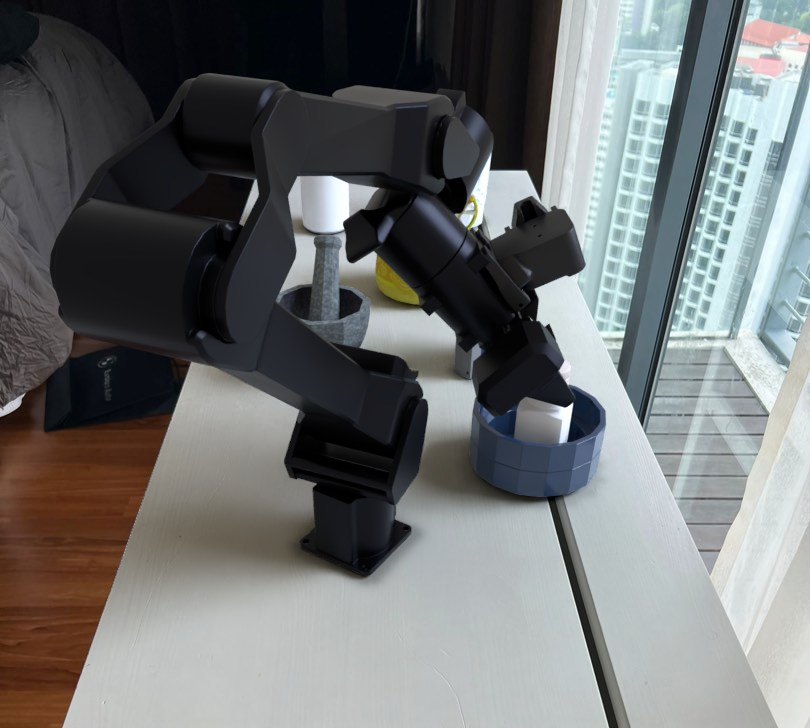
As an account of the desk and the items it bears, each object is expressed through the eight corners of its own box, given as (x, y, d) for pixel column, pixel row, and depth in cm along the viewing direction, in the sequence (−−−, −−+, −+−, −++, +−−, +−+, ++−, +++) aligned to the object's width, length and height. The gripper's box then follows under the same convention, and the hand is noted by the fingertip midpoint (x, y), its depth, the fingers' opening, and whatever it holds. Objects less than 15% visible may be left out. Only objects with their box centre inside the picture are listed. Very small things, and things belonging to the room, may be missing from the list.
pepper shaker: (520, 449, 74) (532, 349, 68) (565, 459, 73) (581, 358, 67) (508, 472, 71) (519, 370, 65) (555, 483, 70) (570, 379, 64)
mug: (361, 303, 99) (359, 198, 91) (392, 269, 107) (393, 169, 99) (466, 320, 96) (474, 213, 88) (490, 283, 104) (499, 182, 96)
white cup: (424, 226, 118) (427, 151, 112) (439, 209, 124) (442, 136, 118) (479, 233, 117) (485, 157, 110) (491, 215, 123) (497, 142, 116)
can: (296, 221, 118) (290, 129, 111) (339, 216, 121) (336, 125, 113) (312, 237, 114) (307, 142, 106) (356, 231, 116) (355, 137, 108)
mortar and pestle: (361, 393, 83) (360, 274, 75) (268, 386, 83) (256, 268, 76) (376, 341, 91) (376, 230, 84) (291, 335, 92) (283, 224, 84)
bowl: (564, 518, 68) (574, 462, 64) (446, 475, 72) (449, 420, 69) (613, 454, 75) (625, 400, 72) (503, 418, 80) (509, 366, 76)
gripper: (551, 221, 50) (688, 386, 57) (504, 137, 64) (619, 278, 72) (414, 344, 54) (558, 481, 62) (399, 240, 69) (518, 362, 76)
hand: (566, 392), depth 68 cm, fingers closed on pepper shaker, 3 cm apart
